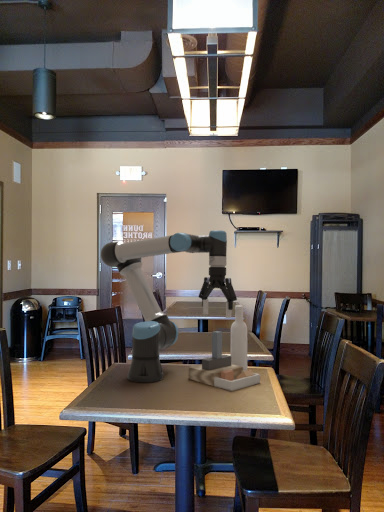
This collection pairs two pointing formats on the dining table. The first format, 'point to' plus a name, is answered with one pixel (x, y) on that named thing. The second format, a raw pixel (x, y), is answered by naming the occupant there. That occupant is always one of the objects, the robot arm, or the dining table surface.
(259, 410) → the dining table surface
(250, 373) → the tile
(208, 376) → the striped wooden block
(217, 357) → the grey post
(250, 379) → the box
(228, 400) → the dining table surface
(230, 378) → the tile
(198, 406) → the dining table surface
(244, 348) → the bottle
